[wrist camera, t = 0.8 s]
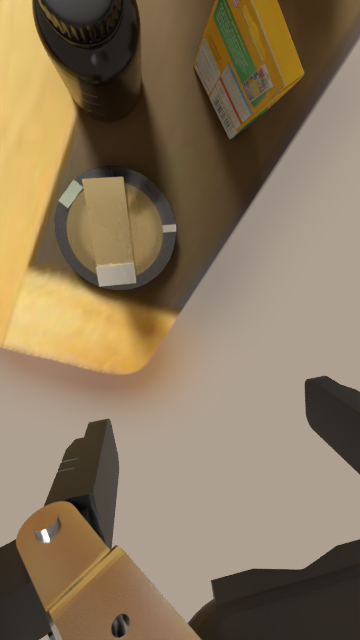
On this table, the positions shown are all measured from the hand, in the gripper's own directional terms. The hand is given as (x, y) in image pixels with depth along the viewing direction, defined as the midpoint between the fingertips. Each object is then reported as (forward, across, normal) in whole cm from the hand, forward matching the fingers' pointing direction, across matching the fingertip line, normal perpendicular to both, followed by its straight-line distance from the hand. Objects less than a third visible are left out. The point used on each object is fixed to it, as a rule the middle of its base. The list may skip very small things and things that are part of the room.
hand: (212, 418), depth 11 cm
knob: (+20, +4, -10) cm, 23 cm away
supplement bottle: (+21, +2, -23) cm, 31 cm away
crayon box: (+21, -9, -21) cm, 31 cm away
